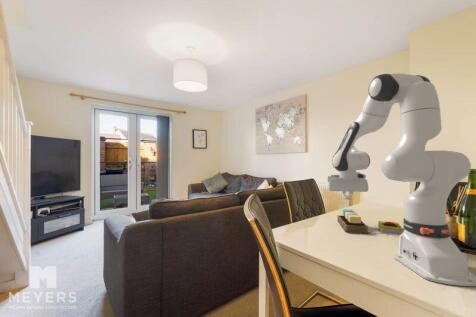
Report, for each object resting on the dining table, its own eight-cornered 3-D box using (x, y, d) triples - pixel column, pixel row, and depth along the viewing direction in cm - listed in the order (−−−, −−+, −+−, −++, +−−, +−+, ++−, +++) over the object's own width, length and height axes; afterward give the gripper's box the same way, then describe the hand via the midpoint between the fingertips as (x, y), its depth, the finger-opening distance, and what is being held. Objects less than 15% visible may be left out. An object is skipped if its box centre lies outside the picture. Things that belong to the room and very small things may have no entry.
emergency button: (380, 225, 106) (376, 217, 120) (380, 234, 106) (377, 225, 120) (404, 227, 102) (397, 219, 115) (404, 236, 102) (397, 227, 115)
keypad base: (368, 233, 106) (368, 226, 106) (345, 232, 108) (345, 225, 108) (356, 222, 125) (356, 216, 125) (337, 221, 127) (337, 215, 127)
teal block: (354, 218, 120) (354, 211, 120) (344, 218, 121) (344, 211, 121) (352, 216, 124) (352, 209, 124) (342, 216, 125) (342, 209, 125)
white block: (357, 221, 114) (357, 214, 114) (347, 221, 115) (347, 213, 115) (355, 219, 118) (355, 212, 118) (345, 219, 119) (345, 211, 119)
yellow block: (361, 225, 108) (360, 217, 108) (350, 224, 109) (349, 216, 109) (358, 222, 112) (358, 215, 112) (347, 222, 113) (347, 214, 113)
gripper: (328, 175, 122) (328, 199, 122) (369, 175, 117) (369, 201, 117) (326, 174, 128) (327, 197, 128) (365, 174, 123) (365, 198, 123)
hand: (347, 199), depth 123 cm, fingers closed
